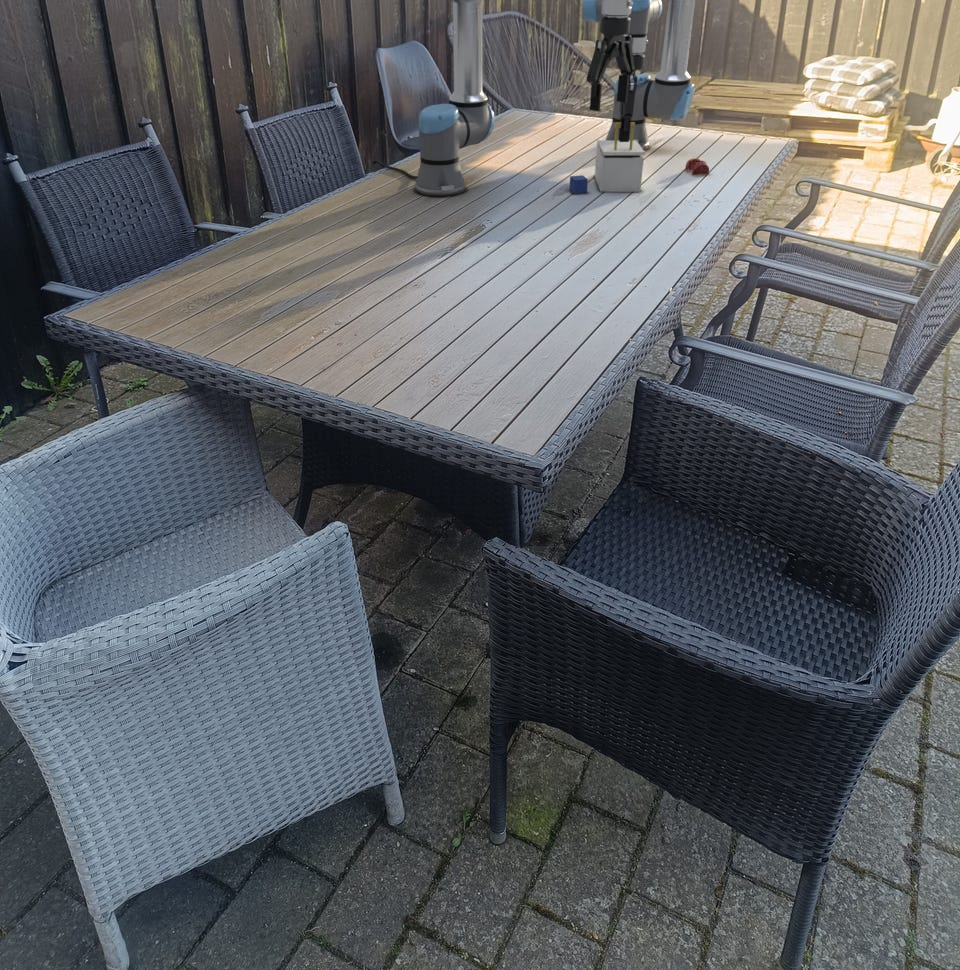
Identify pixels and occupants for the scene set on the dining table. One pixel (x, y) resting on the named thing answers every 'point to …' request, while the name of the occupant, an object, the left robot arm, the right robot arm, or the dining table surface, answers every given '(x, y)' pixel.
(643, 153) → the lid
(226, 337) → the dining table surface
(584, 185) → the block
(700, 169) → the dark red lumpy piece
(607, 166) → the chest
